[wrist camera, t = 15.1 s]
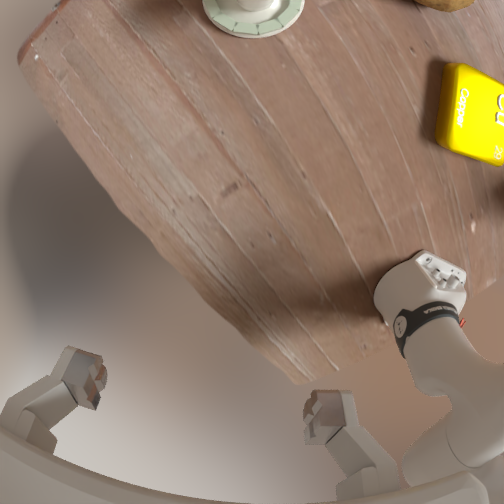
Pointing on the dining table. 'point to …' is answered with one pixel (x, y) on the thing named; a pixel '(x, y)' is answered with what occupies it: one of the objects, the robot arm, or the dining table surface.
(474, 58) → the dining table surface
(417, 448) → the robot arm
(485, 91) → the element tile
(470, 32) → the dining table surface
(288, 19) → the green rimmed plate
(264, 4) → the drinking glass
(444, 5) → the potato
